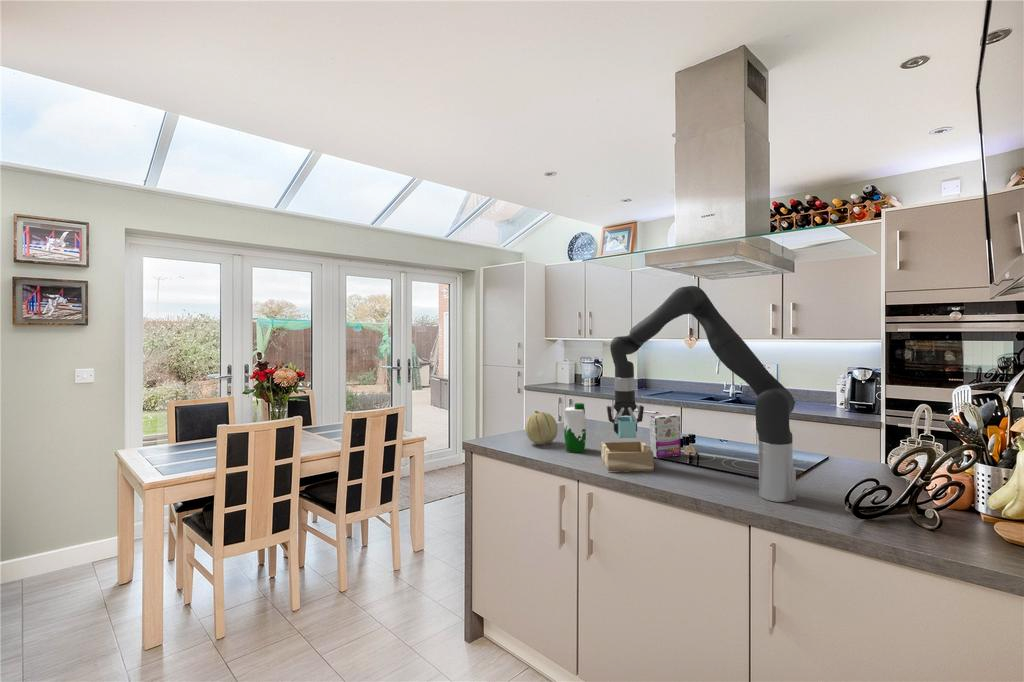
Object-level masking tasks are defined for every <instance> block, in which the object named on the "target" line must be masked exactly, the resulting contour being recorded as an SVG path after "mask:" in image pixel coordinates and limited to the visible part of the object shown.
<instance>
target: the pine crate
mask: <svg viewBox="0 0 1024 682" xmlns="http://www.w3.org/2000/svg"><path fill="white" fill-rule="evenodd" d="M600 451H601V452H600V454H601V455H600V456H601V459H602V460H601V461H602V463H603V465H604V464H605V465H604V467H605V466H606V467H605V468H607V469H606V470H608V471H646V472H655V471H654V470H655V469H654V466H655V465H654V457H653V451H652V450H651V447H649V446H648V444H646V443H645V442H644V441H643V440H634V441H633V440H631V441H626V440H625V441H601V442H600ZM608 471H607V472H608Z"/></svg>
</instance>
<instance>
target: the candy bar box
mask: <svg viewBox="0 0 1024 682" xmlns="http://www.w3.org/2000/svg"><path fill="white" fill-rule="evenodd" d="M680 421H681V418H680V415H678V414H676V413H666V414H658V415H656V414H655V415H649V434H650V438H649V439H650V449H651V450H652V451H653V456H654V457H653V458H655V457H656V458H655V459H661V458H660V457H666V456H673V455H674V457H676V456H675V455H680V456H682V450H681V449H682V448H681V424H680V423H681V422H680ZM666 458H667V457H666Z"/></svg>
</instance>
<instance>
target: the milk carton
mask: <svg viewBox="0 0 1024 682" xmlns="http://www.w3.org/2000/svg"><path fill="white" fill-rule="evenodd" d="M563 428H564V430H563V431H564V432H563V433H564V443H565V445H564V446H565V450H566V452H567V451H574V452H573V453H584V451H585V448H586V440H587V432H586V431H587V427H586V407H585V403H583V402H582V403H580V402H579V403H577V402H576V403H574V406H572V407H567V406H566V407H565V409H564V415H563Z"/></svg>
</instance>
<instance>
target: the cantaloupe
mask: <svg viewBox="0 0 1024 682" xmlns="http://www.w3.org/2000/svg"><path fill="white" fill-rule="evenodd" d="M558 431H559V430H558V424H557V421H556V419H555V418H554V417H553V416H552V415H551V414H550V413H547V412H540V411H538V410H536V411H534V413H533V414H531V415H530V416H529V417H528V418H527V420H526V423H525V432H526V433H525V434H526V437H527V438H528V440H529V441H530V442H532V443H533V444H536V445H539V444H546V445H548V444H550V443H552V442H553V441H554V440H555V439H556V437H557V435H558Z"/></svg>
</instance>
